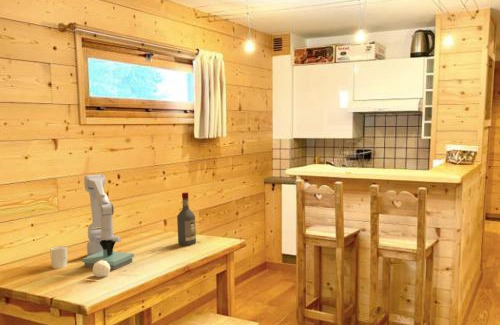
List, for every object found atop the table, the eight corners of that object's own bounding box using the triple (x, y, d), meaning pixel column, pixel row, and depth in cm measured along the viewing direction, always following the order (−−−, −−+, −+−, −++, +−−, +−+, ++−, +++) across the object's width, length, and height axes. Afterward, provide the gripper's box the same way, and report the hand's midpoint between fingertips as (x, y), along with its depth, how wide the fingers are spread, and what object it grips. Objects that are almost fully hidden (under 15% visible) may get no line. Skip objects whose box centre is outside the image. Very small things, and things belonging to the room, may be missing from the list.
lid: (82, 262, 226) (81, 251, 225) (103, 254, 240) (102, 243, 239) (114, 265, 218) (113, 254, 218) (134, 256, 232) (133, 246, 232)
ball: (97, 283, 211) (88, 268, 212) (112, 273, 215) (104, 259, 217) (98, 279, 205) (89, 264, 206) (114, 269, 209) (105, 254, 211)
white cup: (71, 265, 231) (70, 246, 230) (60, 270, 223) (59, 250, 223) (59, 264, 233) (57, 245, 233) (47, 269, 226) (46, 249, 225)
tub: (84, 268, 226) (84, 260, 226) (103, 260, 239) (103, 252, 239) (114, 271, 219) (114, 263, 219) (132, 263, 232) (132, 255, 232)
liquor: (176, 244, 268) (173, 193, 266) (186, 241, 276) (184, 191, 274) (188, 246, 263) (186, 194, 261) (198, 242, 271) (196, 192, 269)
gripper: (89, 229, 227) (91, 256, 228) (113, 230, 221) (115, 258, 222) (99, 226, 233) (100, 252, 234) (122, 227, 228) (124, 254, 229)
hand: (108, 255), depth 229 cm, fingers closed on lid
